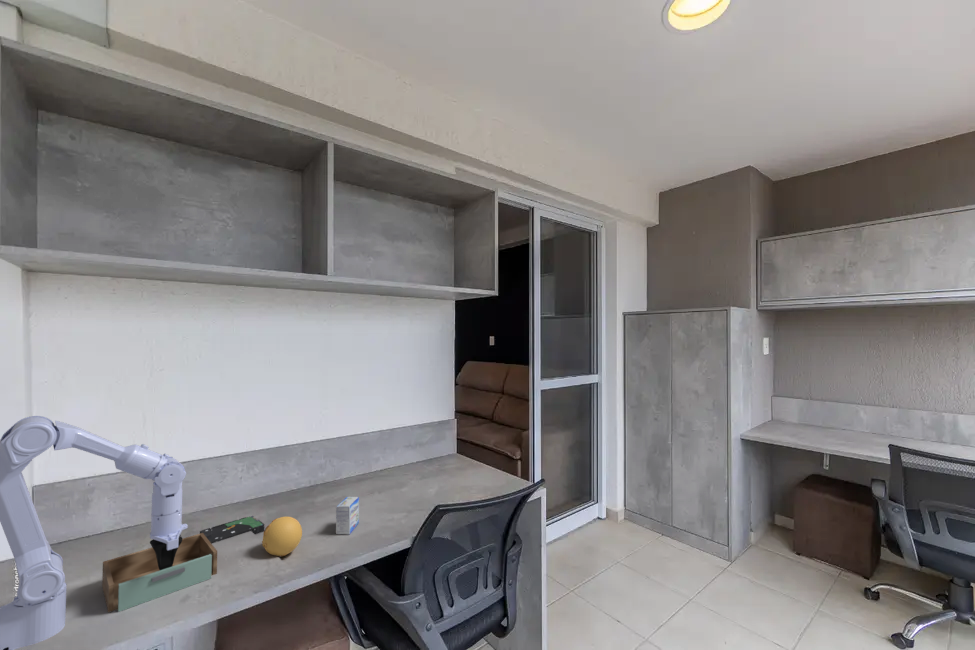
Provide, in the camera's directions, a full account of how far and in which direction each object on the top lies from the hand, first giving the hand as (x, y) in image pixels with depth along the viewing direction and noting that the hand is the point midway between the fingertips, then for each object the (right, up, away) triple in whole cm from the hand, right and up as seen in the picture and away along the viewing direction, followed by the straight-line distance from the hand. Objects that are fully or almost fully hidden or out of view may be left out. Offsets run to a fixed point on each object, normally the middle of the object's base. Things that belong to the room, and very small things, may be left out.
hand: (165, 569), depth 97 cm
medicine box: (+32, -7, +33) cm, 46 cm away
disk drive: (-2, -7, +29) cm, 30 cm away
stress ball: (+19, -7, +18) cm, 27 cm away
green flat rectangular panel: (+2, -4, -2) cm, 5 cm away
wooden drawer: (-4, -6, +3) cm, 8 cm away
